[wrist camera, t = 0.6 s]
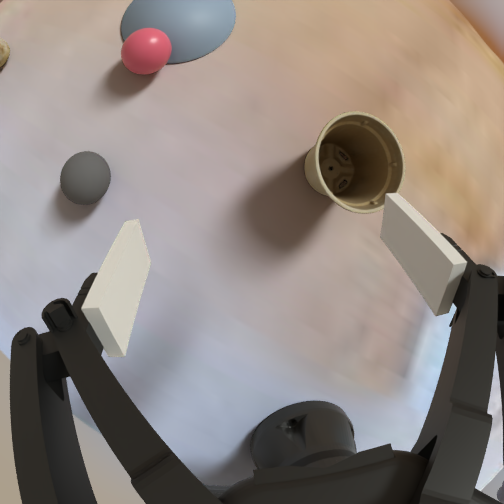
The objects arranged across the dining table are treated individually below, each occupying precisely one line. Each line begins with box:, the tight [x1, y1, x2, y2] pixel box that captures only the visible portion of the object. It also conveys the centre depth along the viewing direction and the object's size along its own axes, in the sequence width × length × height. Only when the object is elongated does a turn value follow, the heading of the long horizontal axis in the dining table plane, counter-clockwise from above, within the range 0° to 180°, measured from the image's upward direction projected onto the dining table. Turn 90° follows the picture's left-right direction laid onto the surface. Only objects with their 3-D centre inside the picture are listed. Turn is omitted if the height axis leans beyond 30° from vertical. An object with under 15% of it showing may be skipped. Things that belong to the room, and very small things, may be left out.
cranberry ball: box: [121, 28, 172, 74], centre depth 27 cm, size 6×6×6 cm
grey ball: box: [60, 151, 111, 205], centre depth 28 cm, size 6×6×6 cm
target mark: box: [121, 0, 236, 63], centre depth 29 cm, size 14×14×1 cm
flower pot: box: [304, 111, 405, 214], centre depth 30 cm, size 9×9×9 cm
